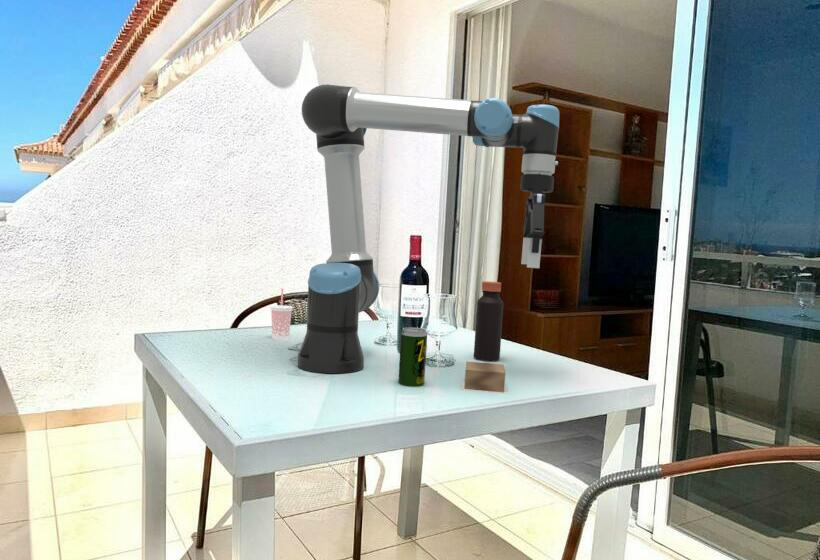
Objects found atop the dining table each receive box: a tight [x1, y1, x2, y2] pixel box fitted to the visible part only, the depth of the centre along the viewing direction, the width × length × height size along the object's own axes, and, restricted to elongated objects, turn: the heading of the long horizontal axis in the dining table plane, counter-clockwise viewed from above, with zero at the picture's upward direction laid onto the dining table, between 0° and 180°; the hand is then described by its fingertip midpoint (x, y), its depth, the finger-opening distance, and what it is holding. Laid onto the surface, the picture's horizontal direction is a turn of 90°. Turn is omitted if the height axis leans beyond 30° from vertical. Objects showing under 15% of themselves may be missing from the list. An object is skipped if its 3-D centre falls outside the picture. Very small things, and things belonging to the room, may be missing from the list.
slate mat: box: [461, 378, 507, 394], centre depth 127 cm, size 16×10×1 cm, turn 84°
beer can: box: [397, 326, 428, 388], centre depth 125 cm, size 5×5×12 cm
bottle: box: [473, 280, 504, 362], centre depth 156 cm, size 7×7×20 cm
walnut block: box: [464, 361, 506, 393], centre depth 126 cm, size 8×8×4 cm
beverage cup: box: [270, 288, 294, 341], centre depth 168 cm, size 6×6×14 cm
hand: (529, 266), depth 142 cm, fingers open, 13 cm apart
